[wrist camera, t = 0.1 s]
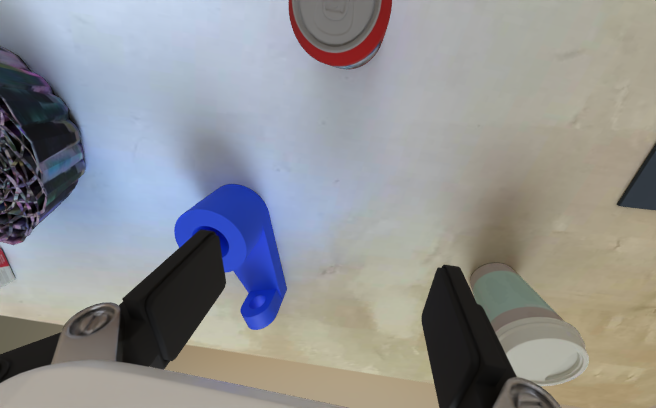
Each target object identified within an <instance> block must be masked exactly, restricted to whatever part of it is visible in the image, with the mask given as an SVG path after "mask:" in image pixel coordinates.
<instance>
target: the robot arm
mask: <svg viewBox="0 0 656 408" xmlns="http://www.w3.org/2000/svg"><path fill="white" fill-rule="evenodd" d="M225 284H226V279H225V272H224V266H223V259H222V253H221V246H220V239H219V236H218V235H216V233H215V232H214V231H208V230H199V231H198V232H197V233H196V234H195V235H193V236H192V237H191V238H190V239H189V240H188V241H187V242H186V243H184V244H183V245H182V246H181V247H180V248H179V249H178V250H177V251H175V252H174V253H173V254H172V255H171V256H170V257H169V258H168V259H166V260H165V261H164V262H163V263H162V264H161V265H160V266H159V267H157V268H156V269H155V270H154V271H153V272H152V273H151V274H150V275H148V276H147V277H146V278H145V279H144V280H143V281H142V282H141V283H139V284H138V285H137V286H136V287H135V288H134V289H133V290H132V291H131V292H129V293H128V294H127V295H126V296H125V297H124V298H123V302H122V303H121V304H120V305H119V306H118V305H117V304H115V303H100V304H95V305H93V306H90V307H87V308H85V309H84V310H82V311H80V312H78V313H77V314H75V315H74V316H73V317H71V318H70V319H69V320H68V321H67V323H66V324H65V325H64V327H63V329H62V332H61V333H58V334H55V335H53V336H50V337H47V338H44V339H42V340H39V341H36V342H33V343H31V344H28V345H25V346H23V347H20V348H17V349H14V350H12V351H9V352H6V353H3V354H0V408H347V407H342V406H338V405H333V404H328V403H324V402H319V401H314V400H309V399H305V398H300V397H295V396H290V395H286V394H281V393H276V392H271V391H267V390H262V389H257V388H252V387H247V386H243V385H238V384H233V383H228V382H223V381H218V380H213V379H208V378H203V377H198V376H193V375H188V374H183V373H179V372H174V371H168V370H164V369H165V367H166V366H167V365H168V363H169V362H170V361H173V360H174V359H175V358H176V357H177V356H178V354H179V353H180V351H181V350H182V348H183V347H184V346H185V344H186V343H187V341H188V340H189V339H190V337H191V336H192V334H193V333H194V331H195V330H196V328H197V327H198V326H199V324H200V323H201V321H202V320H203V318H204V317H205V315H206V314H207V313H208V311H209V310H210V308H211V307H212V305H213V304H214V303H215V301H216V300H217V298H218V297H219V295H220V294H221V292H222V291H223V290H224V288H225ZM422 326H423V331H424V336H425V340H426V345H427V350H428V355H429V360H430V364H431V369H432V374H433V379H434V384H435V388H436V393H437V398H438V403H439V407H440V408H561V407H560V405H559V403H558V402H557V401H556V400H555V399H554V398H553V397H552V396H551V395H550V394H549V393H548V392H547V391H546V390H544V389H543V388H542V387H540V386H539V385H537V384H535V383H534V382H532V381H530V380H527V379H524V378H518V377H517V376H516V374H515V372H514V370H513V368H512V366H511V364H510V362H509V360H508V358H507V356H506V354H505V351H504V349H503V347H502V345H501V343H500V341H499V339H498V337H497V335H496V333H495V331H494V329H493V327H492V325H491V323H490V321H489V319H488V317H487V315H486V312H485V310H484V309H483V307H482V306H481V305H480V304H477V303H476V301H475V298H474V296H473V294H472V292H471V290H470V288H469V286H468V283H467V281H466V279H465V277H464V275H463V273H462V271H461V269H460V267H457V266H450V265H443V266H442V268H437V270H436V273H435V276H434V279H433V282H432V285H431V288H430V292H429V295H428V298H427V301H426V304H425V307H424V310H423V313H422ZM149 366H150V367H149ZM152 367H153V368H152Z"/></svg>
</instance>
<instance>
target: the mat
mask: <svg viewBox="0 0 656 408" xmlns="http://www.w3.org/2000/svg"><path fill="white" fill-rule="evenodd" d="M617 205H618V206H623V207H631V208H640V209H649V210H656V145H655V146H654V148H653V149H652V151H651V153H650V154H649V156H648V157H647V159H646V160H645V162H644V163H643V165H642V167H641V168H640V170H639V171H638V173H637V174H636V176H635V177H634V179H633V180H632V182H631V184H630V185H629V187H628V188H627V190H626V191H625V193H624V194H623V196H622V198H621V199H620V201H619V202H618V204H617Z"/></svg>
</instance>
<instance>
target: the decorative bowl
mask: <svg viewBox="0 0 656 408" xmlns="http://www.w3.org/2000/svg"><path fill="white" fill-rule="evenodd" d="M80 140H81V137H80V132H79V130H78V128H77V127H76V126H75V124H74V123H72V122H71V121H70V120H69V109H68V107H67V106H66V105H65V104H64V103H63V101H62V100H61V99H60V98H59V97H57V96H55V95H53V93H52V89H51V87H50V86H49V84H48V83H47V82H46V81H45V80H44V78H43V77H41V76H39V75H38V74H35V73H32V72H31V71H30V70H29V69H28V67H27V66H26V65H25V64H24V62H23V61H22V60H21V58H20V57H19V56H17V55H16V54H14V53H12V52H10V51H9V50H7V49H5V48H3V47H1V46H0V242H3V243H7V244H11V245H15V244H18V243H21V242H23V241H24V240H25V238H26V237H27V236H29V235H30V233H31V232H32V230H33V229H34V228H35V227H36V226H37V225H38V224H39V223H40V222H41V221H42V220H43V219H45V218H46V217H47V216H48V215H49V214H50V213H51V212H52V211H53V210H54V209H55V208H56V207H58V206H59V205H60V204H61V202H62V201H64V200H65V199H66V198H67V197H68V196H69V194H70V193H71V192H72V190H73V189H74V188H75V186H76V184H77V183H78V178H79V177H81V176H82V175H83V174H84V172H85V162H84V160H83V158H84V155H83V149H82V145H81V143H80Z"/></svg>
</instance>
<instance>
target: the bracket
mask: <svg viewBox="0 0 656 408" xmlns="http://www.w3.org/2000/svg"><path fill="white" fill-rule="evenodd" d="M199 230H208V231H214V232H215V233H216V235H218V236H219V239H220V246H221V253H222V259H223V266H224V272H231V271H234V272H235V274H236V275H237V277H238V278H239V280H240V281H241V282H242V284H243V285H244V287H245V288H246V290H247V291H248V293H249V294H248V296H247V298H246V299H245V301H244V303H243V305H242V307H241V314H242V316H243V318H244V320H245V321H246V323H247V325H248V327H249V328H250V329H253V330H258V329H262V328H264V327H266V326H268V325H269V324H270V323H271V322H272V321H273V320H274V319H275V317H276V315H277V313H278V310H279V308H280V305H281V303H282V300H283V298H284V295H285V293H286V290H287V287H286V283H285V279H284V275H283V271H282V267H281V262H280V258H279V254H278V250H277V246H276V241H275V237H274V233H273V229H272V225H271V220H270V216H269V212H268V209H267V206H266V204H265V203H264V201H263V200H262V199H261V197H260V196H259V195H258V194H256V193H255V192H254V191H252V190H251V189H249V188H247V187H245V186H242V185H237V184H228V185H224V186H222V187H220V188H218V189H217V190H215V191H214V192H213V193H211V194H210V195H208V196H207V197H206V198H204V199H203V200H202V201H200V202H199V203H197V204H196V205H195V206H193V207H192V208H191V209H189V210H188V211H186V212H185V213H184V214H182V215H181V216H180V217H179V218H178V220H177V222H176V224H175V231H174V232H175V238H176V242H177V244H178V246H179V248H180V247H181V246H182V245H183V244H184V243H186V242H187V241H188V240H189V239H190V238H191V237H192V236H193V235H195V234H196V233H197V232H198V231H199Z"/></svg>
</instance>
